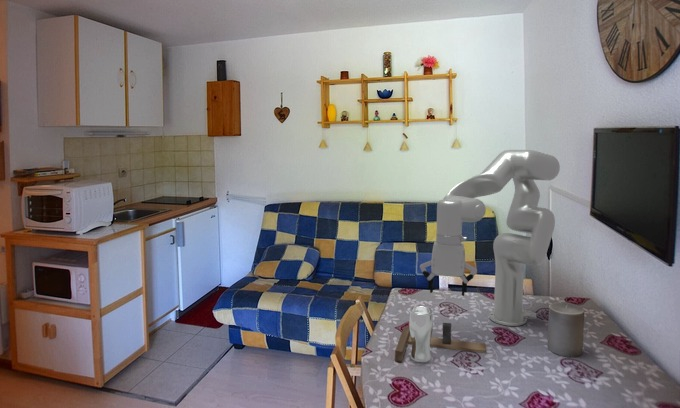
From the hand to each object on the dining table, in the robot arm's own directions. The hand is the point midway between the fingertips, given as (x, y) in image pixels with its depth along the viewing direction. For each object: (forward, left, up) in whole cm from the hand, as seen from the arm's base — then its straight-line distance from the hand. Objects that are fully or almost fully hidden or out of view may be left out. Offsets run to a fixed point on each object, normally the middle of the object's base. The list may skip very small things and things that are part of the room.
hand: (447, 292), depth 136 cm
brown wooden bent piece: (+1, +6, -17) cm, 18 cm away
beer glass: (+7, +10, -18) cm, 21 cm away
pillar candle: (-35, -6, -18) cm, 40 cm away
